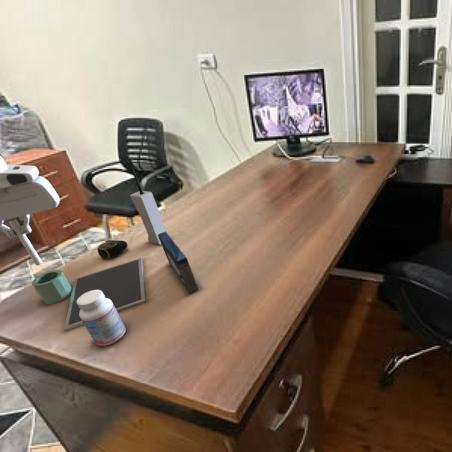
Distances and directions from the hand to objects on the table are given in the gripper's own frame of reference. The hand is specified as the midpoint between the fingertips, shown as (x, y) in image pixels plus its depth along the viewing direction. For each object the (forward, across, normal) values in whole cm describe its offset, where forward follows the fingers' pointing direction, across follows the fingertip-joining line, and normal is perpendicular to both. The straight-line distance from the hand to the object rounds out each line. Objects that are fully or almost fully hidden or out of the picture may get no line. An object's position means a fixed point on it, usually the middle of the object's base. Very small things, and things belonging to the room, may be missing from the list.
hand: (20, 234), depth 82 cm
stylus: (+9, 0, 0) cm, 9 cm away
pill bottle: (+19, +13, -25) cm, 34 cm away
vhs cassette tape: (+19, +30, -11) cm, 37 cm away
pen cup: (+19, 0, 0) cm, 19 cm away
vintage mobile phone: (+19, +26, +14) cm, 35 cm away
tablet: (+19, +12, -6) cm, 23 cm away
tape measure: (+19, +13, +15) cm, 27 cm away
